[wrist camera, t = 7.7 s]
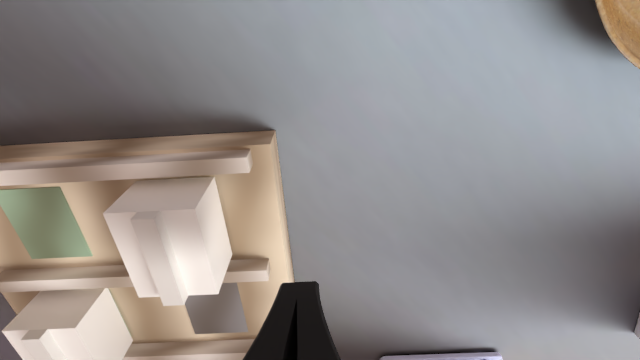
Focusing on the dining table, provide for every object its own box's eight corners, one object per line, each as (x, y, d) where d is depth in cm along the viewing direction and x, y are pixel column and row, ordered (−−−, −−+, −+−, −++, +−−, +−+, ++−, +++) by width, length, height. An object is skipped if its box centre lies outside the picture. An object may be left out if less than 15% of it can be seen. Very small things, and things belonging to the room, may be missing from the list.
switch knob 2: (214, 176, 17) (190, 216, 14) (232, 254, 19) (215, 303, 16) (136, 180, 17) (94, 221, 14) (163, 257, 19) (132, 307, 16)
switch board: (275, 130, 18) (267, 152, 16) (306, 379, 28) (305, 417, 26) (-48, 148, 19) (-109, 172, 16) (97, 386, 29) (74, 425, 26)
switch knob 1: (106, 285, 20) (67, 338, 17) (132, 340, 23) (102, 395, 20) (42, 288, 21) (-8, 341, 17) (75, 342, 23) (35, 397, 20)
